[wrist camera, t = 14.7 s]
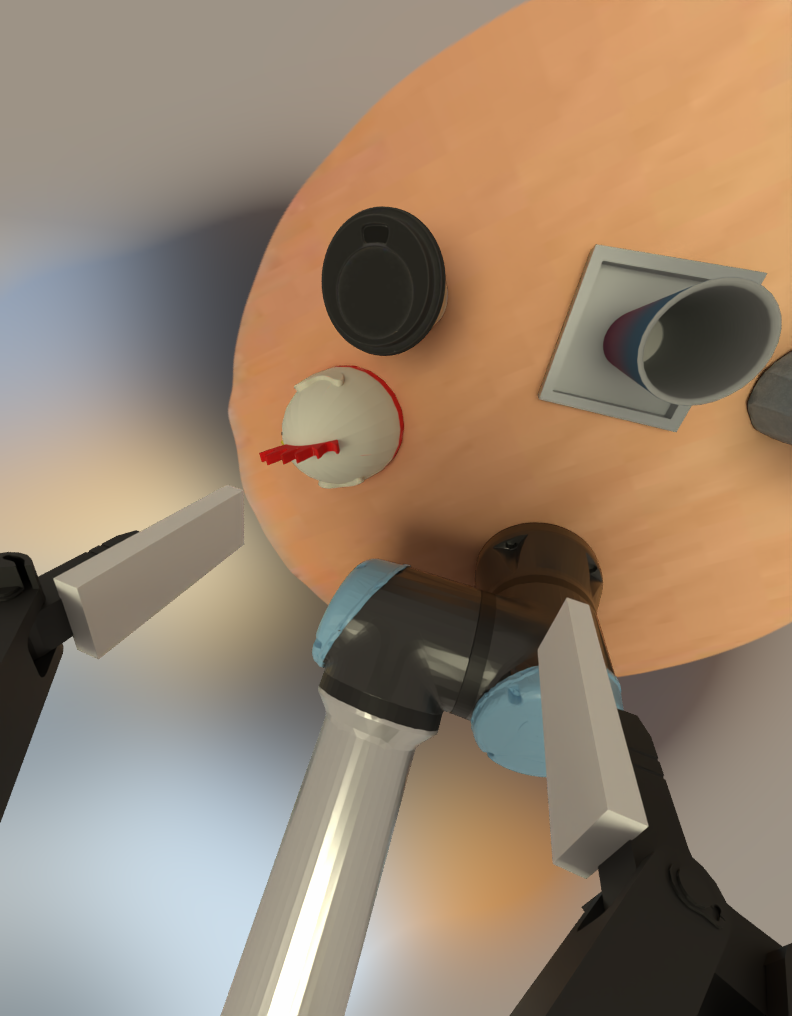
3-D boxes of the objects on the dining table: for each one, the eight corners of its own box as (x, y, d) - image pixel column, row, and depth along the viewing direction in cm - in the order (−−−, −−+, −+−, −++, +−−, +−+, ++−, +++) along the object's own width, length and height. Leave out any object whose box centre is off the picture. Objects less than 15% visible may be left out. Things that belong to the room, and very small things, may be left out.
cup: (587, 379, 37) (627, 406, 24) (598, 302, 34) (651, 284, 21) (666, 377, 35) (757, 405, 22) (686, 294, 32) (803, 269, 19)
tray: (666, 426, 37) (676, 432, 35) (537, 395, 39) (538, 399, 37) (749, 277, 31) (767, 273, 29) (590, 249, 33) (596, 244, 31)
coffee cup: (446, 224, 35) (407, 163, 22) (478, 324, 38) (460, 321, 25) (363, 275, 39) (289, 248, 26) (398, 362, 42) (347, 377, 29)
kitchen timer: (290, 373, 46) (203, 390, 33) (394, 357, 42) (340, 369, 29) (316, 477, 52) (250, 526, 39) (410, 472, 47) (371, 526, 34)
